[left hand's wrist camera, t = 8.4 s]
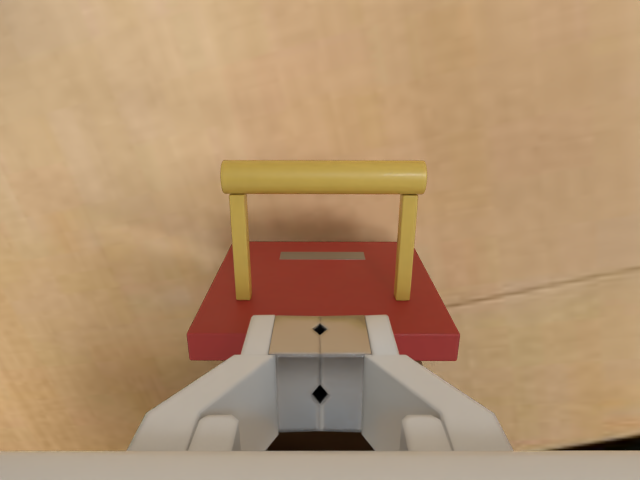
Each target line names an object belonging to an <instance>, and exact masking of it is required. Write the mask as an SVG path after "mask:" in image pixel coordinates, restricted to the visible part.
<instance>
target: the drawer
mask: <svg viewBox="0 0 640 480" xmlns="http://www.w3.org/2000/svg"><path fill="white" fill-rule="evenodd" d="M220 178H221V187H222V191H223V193H225V194H230V195H229V204H230V218H231V232H232V245H231V247H230V249H229V251H228V253H227V255H226V257H225V259H224V261H223V263H222V265H221V267H220V269H219V271H218V273H217V275H216V277H215V279H214V281H213V283H212V285H211V287H210V289H209V291H208V293H207V295H206V297H205V299H204V301H203V303H202V305H201V307H200V309H199V311H198V313H197V315H196V317H195V319H194V321H193V322H192V324H191V326H190V328H189V330H188V332H187V341H188V350H189V358H190V360H224V361H226V360H227V359H229V358H230V357H232V356H233V355H241V351H242V348H243V344H244V341H245V338H246V334H247V331H248V327H249V324H250V320H251V317H252V316H253V315H275V316H276V315H298V316H346V315H387V316H388V317H389V321H390V324H391V327H392V331H393V334H394V338H395V341H396V345H397V348H398V352H399V355H407V356H408V357H410V358H411V359H413V360H414V361H416V362H417V363H419V364H420V365H422V362H421V361H456V360H457V355H458V347H459V339H460V333H459V332H458V330H457V328H456V326H455V324H454V322H453V320H452V318H451V316H450V315H449V313H448V311H447V309H446V307H445V305H444V303H443V301H442V299H441V298H440V296H439V294H438V292H437V290H436V288H435V286H434V284H433V282H432V281H431V279H430V277H429V275H428V273H427V271H426V269H425V267H424V265H423V264H422V262H421V260H420V258H419V256H418V254H417V252H416V250H415V248H414V241H415V229H416V217H417V204H418V195H417V194H423V193H424V192H425V189H426V184H427V167H426V164H425V162H424V161H336V160H224V161H223V162H222V164H221V172H220ZM246 194H400V208H399V223H398V238H397V242H249V231H248V213H247V195H246ZM422 366H423V365H422ZM278 433H279V435H278V436H277V437H276V438H275V440H274V441H273V442H272V443H271V444H270V446H269V447H268V448H267V449H266V451H375V450H374V449H373V448H372V446H371V445H370V444H369V443H368V442H367V440H366V439H365V438H364V437H363V435H362V432H332V431H307V432H278Z"/></svg>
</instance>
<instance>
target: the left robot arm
mask: <svg viewBox="0 0 640 480" xmlns="http://www.w3.org/2000/svg"><path fill="white" fill-rule="evenodd" d="M307 431H332V432H362V435H363V437H364V438H365V439H366V440H367V442H368V443H369V444H370V445H371V446H372V448H373V449H374V450H375V451H266V449H267V448H268V447H269V446H270V444H271V443H272V442H273V441H274V440H275V438H276V437H277V436H278V435H279V433H278V432H307ZM0 480H640V451H513V449H512V447H511V445H510V443H509V441H508V439H507V437H506V435H505V433H504V431H503V429H502V427H501V425H500V423H499V421H498V419H497V418H496V416H495V414H494V413H493V412H491V411H490V410H488V409H487V408H485V407H484V406H482V405H481V404H479V403H478V402H476V401H475V400H473V399H472V398H470V397H469V396H467V395H466V394H464V393H463V392H461V391H460V390H458V389H457V388H455V387H454V386H452V385H451V384H449V383H448V382H446V381H445V380H443V379H442V378H440V377H439V376H437V375H436V374H434V373H433V372H431V371H430V370H428V369H427V368H425V367H423V366H422V365H420V364H419V363H417V362H416V361H414V360H413V359H411V358H410V357H408V356H407V355H399V352H398V348H397V345H396V341H395V338H394V334H393V331H392V327H391V324H390V321H389V317H388V316H387V315H346V316H298V315H276V316H275V315H253V316H252V317H251V320H250V324H249V327H248V331H247V334H246V338H245V341H244V344H243V348H242V351H241V355H233V356H232V357H230V358H229V359H227V360H226V361H224V362H222V363H221V364H219V365H218V366H216V367H215V368H213V369H212V370H210V371H209V372H207V373H206V374H204V375H203V376H201V377H200V378H198V379H197V380H195V381H194V382H192V383H191V384H189V385H188V386H186V387H185V388H183V389H182V390H180V391H179V392H177V393H176V394H174V395H173V396H171V397H170V398H168V399H166V400H165V401H163V402H162V403H160V404H159V405H157V406H156V407H154V408H153V409H151V410H150V411H148V412H147V413H146V414H145V416H144V418H143V420H142V422H141V424H140V426H139V428H138V429H137V431H136V433H135V435H134V437H133V439H132V441H131V443H130V445H129V447H128V449H127V451H0Z"/></svg>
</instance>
